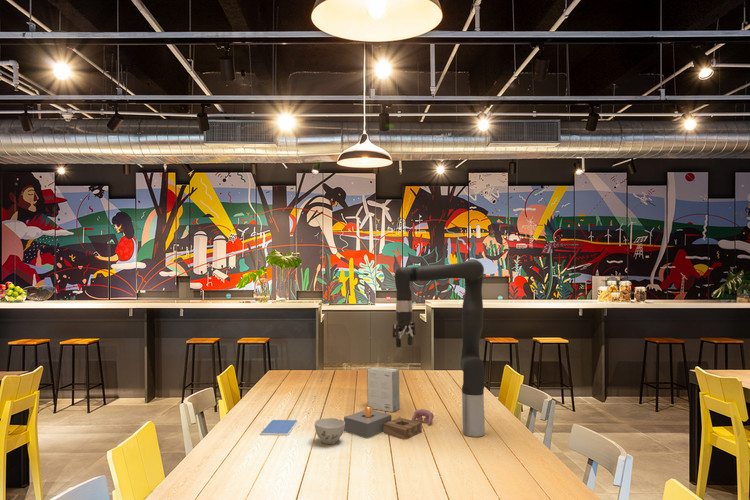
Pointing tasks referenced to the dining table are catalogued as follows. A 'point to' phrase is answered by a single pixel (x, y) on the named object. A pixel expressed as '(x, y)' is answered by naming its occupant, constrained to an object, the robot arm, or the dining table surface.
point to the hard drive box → (383, 389)
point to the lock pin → (367, 411)
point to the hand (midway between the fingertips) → (404, 346)
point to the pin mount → (402, 428)
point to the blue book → (279, 427)
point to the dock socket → (366, 423)
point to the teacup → (329, 429)
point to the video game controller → (422, 412)
